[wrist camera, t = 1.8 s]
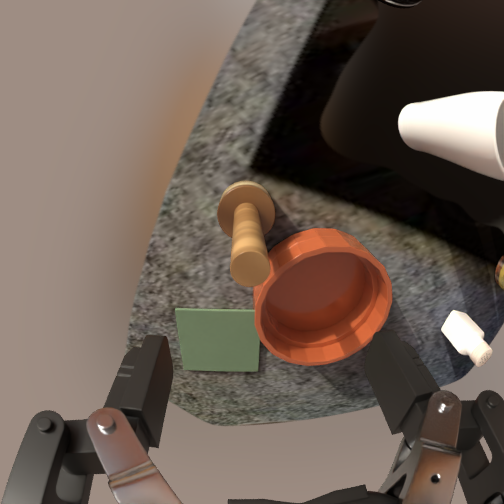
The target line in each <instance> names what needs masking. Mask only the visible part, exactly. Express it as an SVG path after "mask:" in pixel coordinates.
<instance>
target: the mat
mask: <svg viewBox="0 0 504 504" xmlns="http://www.w3.org/2000/svg"><path fill="white" fill-rule="evenodd" d="M175 313H176V321H177V328H178V335H179V341H180V348H181V354H182V360H183V366H184V370H198V371H235V372H253V371H258V367H259V349H260V338H259V335H258V333H257V330H256V327H255V324H254V311H253V310H239V309H189V308H176V309H175Z"/></svg>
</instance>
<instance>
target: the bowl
mask: <svg viewBox="0 0 504 504" xmlns="http://www.w3.org/2000/svg"><path fill="white" fill-rule="evenodd" d="M268 257H269V262H270V274H269V276H268V278H267V279H266V280H265V281H264V282H263V283H262V284H260V285H258V286H254V287H253V311H254V324H255V327H256V330H257V333H258V335H259V338H260V341H261V342H262V343H263V344H264V345H265V346H266V347H267V349H268V350H269V351H270V352H271V353H272V354H273V355H275V356H277V357H279V358H281V359H283V360H285V361H287V362H289V363H294V364H300V365H305V366H313V365H326V364H329V363H333V362H336V361H339V360H342V359H345V358H347V357H349V356H351V355H352V354H354V353H356V352H357V351H359V350H361V349H362V348H364V347H365V346H366V345H367V344H368V343H369V342H370V341H371V340H372V338H373V335H374V333H375V332H379V331H380V329H381V328H382V326H383V325H384V323H385V321H386V320H387V317H388V314H389V311H390V307H391V304H392V283H391V281H390V278H389V276H388V274H387V272H386V269H385V267H384V266H383V265H382V264H381V263H380V262H379V261H378V260H377V258H376V257H375V256H374V255H373V254H372V253H371V252H370V251H369V250H368V249H367V248H366V247H365V246H364V245H363V244H361V243H360V242H359V241H358V240H357V239H356V238H355V237H354V236H352V235H349V234H347V233H344V232H342V231H339V230H336V229H323V228H314V229H310V230H306V231H303V232H299V233H296V234H293V235H291V236H289V237H288V238H286V239H285V240H283V241H282V242H280V243H279V244H277V245H275V246H274V247H273V248H272V249H271V251H270V252H269V253H268Z"/></svg>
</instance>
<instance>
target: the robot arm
mask: <svg viewBox="0 0 504 504" xmlns="http://www.w3.org/2000/svg"><path fill="white" fill-rule="evenodd" d="M379 1H380V2H382V3H384V4H387V5H389V6H393V7H397V8H410V7H413V6H415V5H417V4H419V3H420V2H421V1H422V0H379ZM365 372H366V375H367V377H368V380H369V382H370V384H371V386H372V389H373V391H374V393H375V396H376V398H377V400H378V402H379V405H380V407H381V409H382V412H383V414H384V416H385V419H386V421H387V424H388V426H389V428H390V430H391V433H392V435H393V434H397V433H401V432H403V434H404V437H403V439H402V441H401V443H400V446H399V449H398V452H397V454H396V457H395V460H394V462H393V464H392V467H391V470H390V472H389V474H388V477H387V478H386V480H385V482H384V483H383V484H382V486H381V487H380V489H379V491H378V492H373V491H367V489H366V486H365V485H360V486H356V487H351V488H347V489H342V490H336V491H333V492H330V493H328V494H325V495H323V496H320V497H318V498H315V499H312V500H310V501H307V502H304V503H289V502H281V501H274V500H267V499H244V500H243V499H241V500H240V499H239V500H237V499H234V500H232V499H228V504H451V501H452V497H453V493H454V489H455V485H456V482H457V477H458V478H459V481H460V484H461V486H462V489H463V492H464V495H465V498H466V501H467V504H504V400H503V399H502V397H501V396H500V395H499V394H498V393H496V392H494V391H491V390H486V391H483V392H481V393H480V394H479V396H478V397H477V399H476V400H472V401H460V400H459V398H458V397H457V396H456V395H454V394H453V393H452V392H449V391H445V390H440V388H439V386H438V385H437V383H436V382H435V380H434V378H433V377H432V375H431V374H430V372H429V371H428V369H427V368H426V366H424V363H423V361H422V360H421V358H420V359H419V355H418V354H417V352H416V351H415V349H414V348H413V347H412V346H410V345H409V344H408V343H406V342H405V341H401V340H400V338H399V337H398V335H397V334H396V332H395V331H393V330H388V331H379V332H375V333H374V335H373V338H372V341H371V344H370V347H369V350H368V353H367V356H366V359H365ZM172 380H173V364H172V359H171V354H170V349H169V344H168V339H167V337H166V336H157V335H146V337H145V339H144V342H143V344H142V347H141V348H139V347H133V348H132V349H131V350H130V351H129V352H128V353H127V354H126V355H125V356H124V359H123V361H122V363H121V367H120V368H119V370H118V373H117V376H116V378H115V380H114V383H113V385H112V388H111V390H110V392H109V395H108V397H107V400H106V403H105V405H104V407H103V408H101V409H98V410H96V411H95V412H93V413H92V414H91V415H90V416H89V418H88V419H84V420H70V421H69V420H67V421H64V420H63V419H62V417H61V416H60V415H59V414H58V413H56V412H54V411H50V410H49V411H42V412H40V413H38V414H36V415H35V416H34V417H33V419H32V420H31V422H30V424H29V427H28V429H27V431H26V433H25V436H24V438H23V441H22V443H21V446H20V449H19V451H18V454H17V457H16V459H15V462H14V465H13V467H12V471H11V473H10V476H9V479H8V482H7V485H6V489H5V492H4V496H3V499H2V503H1V504H88V501H89V496H90V490H91V485H92V480H93V476H94V474H107V476H108V479H109V482H108V484H109V487H110V489H111V491H112V493H113V495H114V497H115V499H116V501H117V502H118V504H182V502H181V501H180V500H179V498H178V497H177V496H176V494H175V493H174V492H173V490H172V489H171V488H170V486H169V485H168V483H167V482H166V481H165V479H164V478H163V476H162V475H161V473H160V472H159V470H158V469H157V467H156V466H155V465H154V464H153V462H152V461H151V459H150V457H149V456H148V450H149V447H156V448H159V442H160V437H161V432H162V427H163V422H164V417H165V413H166V408H167V403H168V398H169V394H170V389H171V385H172ZM483 436H484V438H485V440H486V442H487V444H488V446H489V448H490V450H491V452H492V461H491V463H489V461H488V459H487V456H486V454H485V452H484V450H483V448H482V446H481V444H480V441H479V440H480V439H481V438H482V437H483Z"/></svg>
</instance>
